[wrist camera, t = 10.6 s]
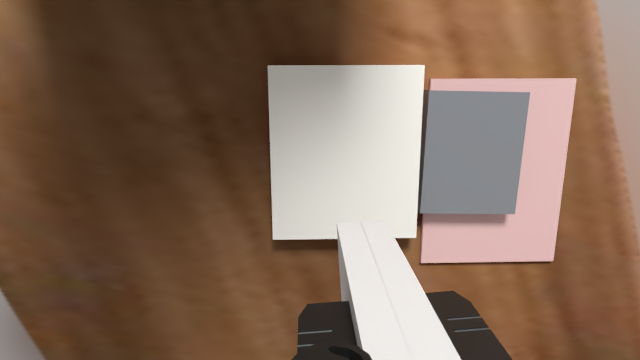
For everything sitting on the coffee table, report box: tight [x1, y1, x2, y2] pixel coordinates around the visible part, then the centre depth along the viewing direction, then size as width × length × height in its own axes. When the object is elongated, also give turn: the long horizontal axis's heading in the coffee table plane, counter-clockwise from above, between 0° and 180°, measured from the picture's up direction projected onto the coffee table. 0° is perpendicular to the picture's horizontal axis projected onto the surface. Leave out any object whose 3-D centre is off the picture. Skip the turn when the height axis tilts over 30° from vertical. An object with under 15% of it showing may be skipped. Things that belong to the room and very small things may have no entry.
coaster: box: [418, 90, 530, 214], centre depth 34 cm, size 10×8×2 cm
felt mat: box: [420, 78, 576, 263], centre depth 36 cm, size 16×12×1 cm
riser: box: [268, 65, 425, 240], centre depth 34 cm, size 14×12×2 cm
